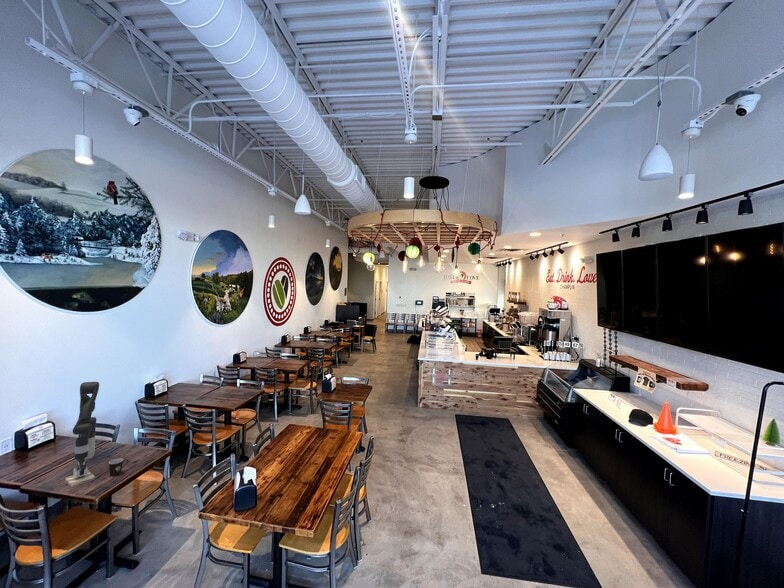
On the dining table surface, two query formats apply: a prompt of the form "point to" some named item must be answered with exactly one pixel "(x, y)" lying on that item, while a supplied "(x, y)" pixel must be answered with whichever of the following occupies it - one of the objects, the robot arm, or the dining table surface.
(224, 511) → the dining table surface
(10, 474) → the dining table surface
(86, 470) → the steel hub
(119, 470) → the coffee mug
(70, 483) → the post plate
